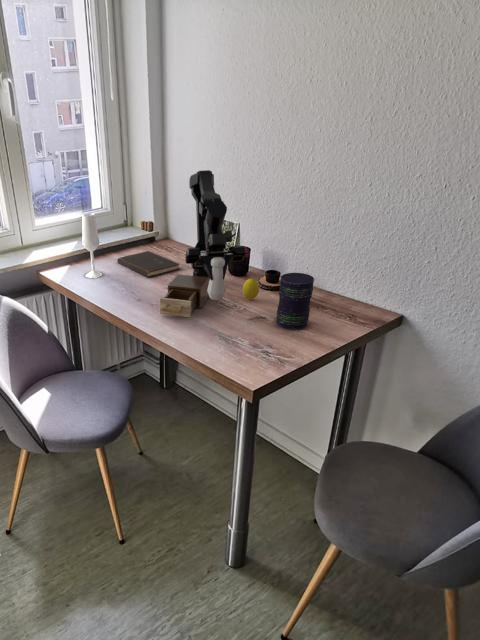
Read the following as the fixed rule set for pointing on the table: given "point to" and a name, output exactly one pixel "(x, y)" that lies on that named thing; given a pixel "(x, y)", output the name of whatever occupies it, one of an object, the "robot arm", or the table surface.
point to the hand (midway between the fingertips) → (217, 279)
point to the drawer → (178, 302)
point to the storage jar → (294, 301)
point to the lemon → (251, 288)
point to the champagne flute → (90, 239)
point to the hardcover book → (148, 263)
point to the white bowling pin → (217, 279)
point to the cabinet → (192, 286)
